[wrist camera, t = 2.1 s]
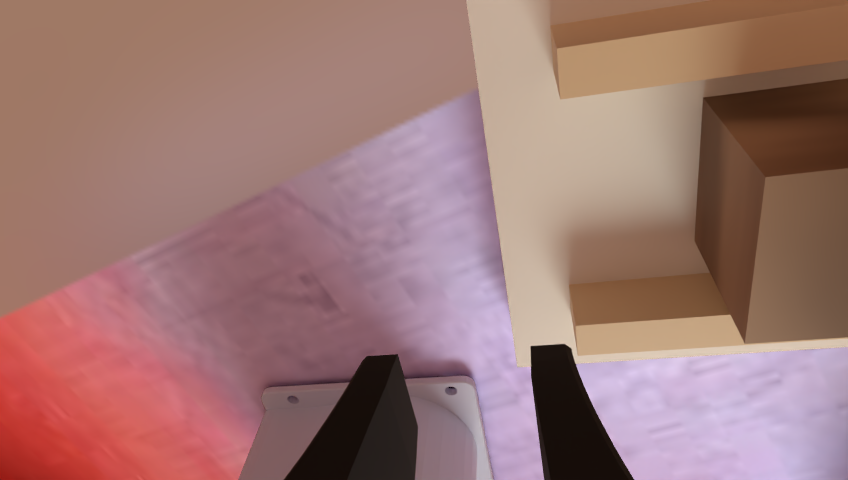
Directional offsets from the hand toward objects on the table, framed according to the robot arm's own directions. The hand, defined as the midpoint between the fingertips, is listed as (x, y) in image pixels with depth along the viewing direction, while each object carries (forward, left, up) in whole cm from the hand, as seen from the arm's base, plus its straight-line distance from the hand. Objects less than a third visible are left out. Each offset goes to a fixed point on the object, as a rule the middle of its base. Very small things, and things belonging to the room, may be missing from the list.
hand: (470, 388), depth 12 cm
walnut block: (+8, 0, -8) cm, 11 cm away
